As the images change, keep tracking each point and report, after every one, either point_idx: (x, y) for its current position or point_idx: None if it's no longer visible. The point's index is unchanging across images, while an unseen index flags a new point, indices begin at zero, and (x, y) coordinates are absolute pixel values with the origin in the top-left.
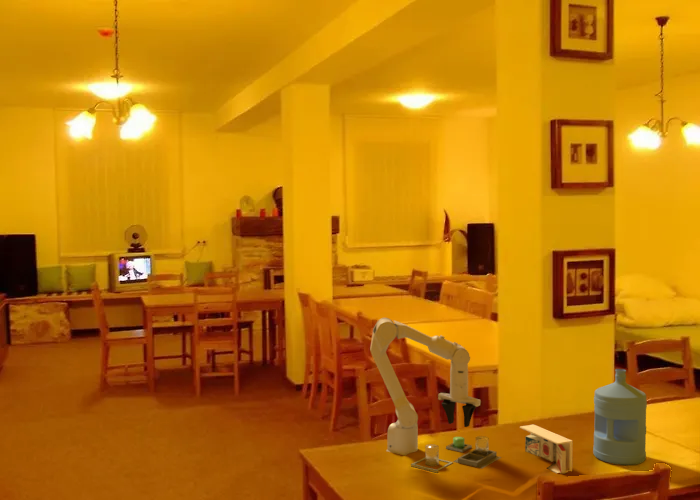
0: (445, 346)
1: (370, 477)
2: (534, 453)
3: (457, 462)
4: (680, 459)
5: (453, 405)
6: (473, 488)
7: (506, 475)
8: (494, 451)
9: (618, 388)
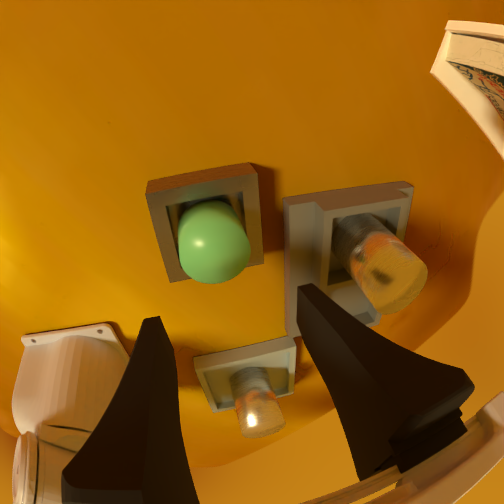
0: None
1: (192, 445)
2: (482, 86)
3: None
4: None
5: (158, 460)
6: None
7: (433, 268)
8: (401, 199)
9: None
